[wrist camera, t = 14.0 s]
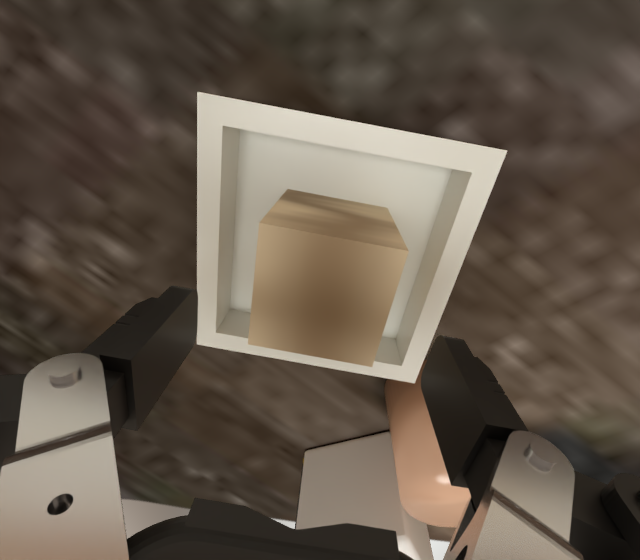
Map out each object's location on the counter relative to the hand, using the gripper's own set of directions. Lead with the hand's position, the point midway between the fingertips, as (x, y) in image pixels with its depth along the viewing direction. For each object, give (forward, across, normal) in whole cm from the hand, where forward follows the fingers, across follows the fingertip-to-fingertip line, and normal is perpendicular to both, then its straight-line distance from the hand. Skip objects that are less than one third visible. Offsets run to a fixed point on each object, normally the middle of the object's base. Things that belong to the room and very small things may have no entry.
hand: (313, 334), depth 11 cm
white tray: (+8, 0, -1) cm, 8 cm away
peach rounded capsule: (+8, -8, +8) cm, 14 cm away
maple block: (+7, 0, -1) cm, 7 cm away
